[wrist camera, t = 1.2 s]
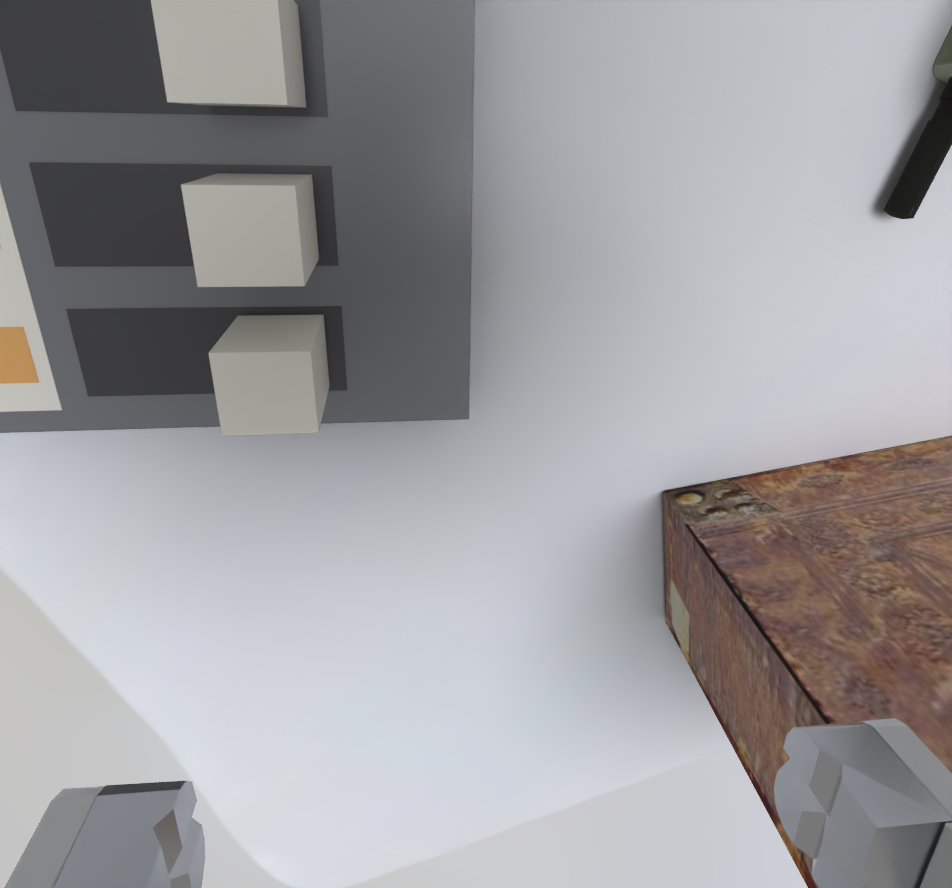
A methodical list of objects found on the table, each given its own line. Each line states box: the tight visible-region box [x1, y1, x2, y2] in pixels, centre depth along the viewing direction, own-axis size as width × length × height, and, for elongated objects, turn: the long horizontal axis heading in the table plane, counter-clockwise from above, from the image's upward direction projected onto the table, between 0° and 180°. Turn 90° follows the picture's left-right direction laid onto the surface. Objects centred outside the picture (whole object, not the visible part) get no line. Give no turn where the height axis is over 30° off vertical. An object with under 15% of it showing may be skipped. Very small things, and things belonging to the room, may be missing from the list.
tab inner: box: [151, 0, 306, 108], centre depth 22 cm, size 3×4×5 cm
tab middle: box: [181, 173, 319, 287], centre depth 24 cm, size 3×4×5 cm
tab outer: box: [208, 315, 330, 436], centre depth 26 cm, size 3×4×5 cm
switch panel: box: [0, 0, 475, 433], centre depth 27 cm, size 18×22×2 cm
